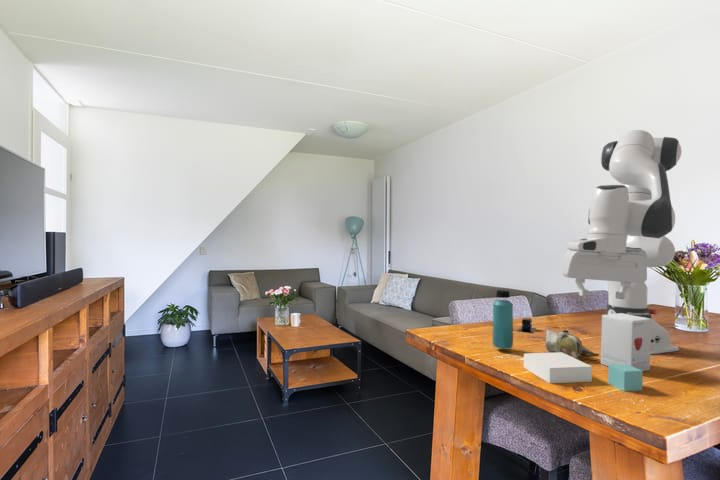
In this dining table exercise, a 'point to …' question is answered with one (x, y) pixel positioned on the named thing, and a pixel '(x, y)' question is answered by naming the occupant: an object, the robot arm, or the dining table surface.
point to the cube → (625, 377)
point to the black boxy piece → (526, 326)
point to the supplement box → (626, 340)
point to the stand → (557, 367)
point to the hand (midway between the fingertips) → (601, 297)
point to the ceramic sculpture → (566, 344)
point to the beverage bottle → (502, 321)
